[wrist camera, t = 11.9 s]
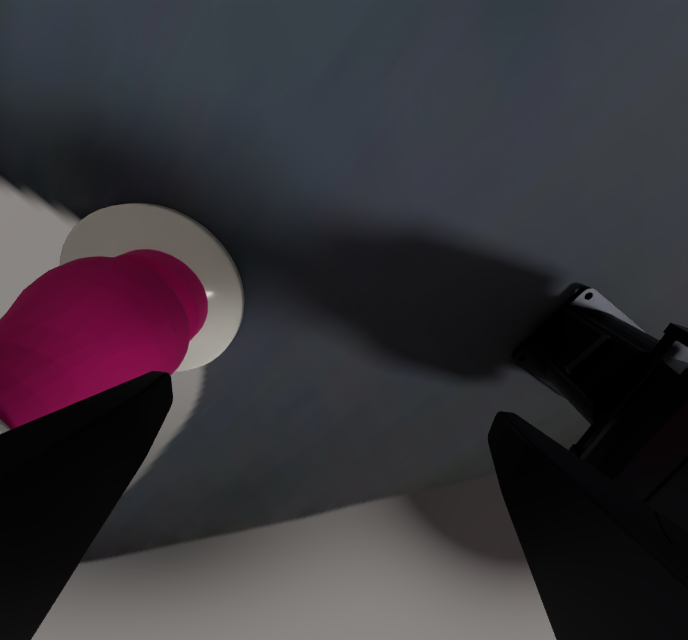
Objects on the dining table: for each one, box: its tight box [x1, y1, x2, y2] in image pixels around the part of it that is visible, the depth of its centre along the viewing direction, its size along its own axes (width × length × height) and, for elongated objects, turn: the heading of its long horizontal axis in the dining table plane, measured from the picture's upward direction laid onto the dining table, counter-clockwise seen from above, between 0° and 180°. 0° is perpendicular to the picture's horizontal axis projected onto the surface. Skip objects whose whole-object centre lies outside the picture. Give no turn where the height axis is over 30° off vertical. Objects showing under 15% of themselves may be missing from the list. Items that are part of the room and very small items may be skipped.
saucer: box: [60, 203, 245, 372], centre depth 21 cm, size 11×11×1 cm
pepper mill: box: [0, 249, 208, 434], centre depth 12 cm, size 7×7×20 cm
